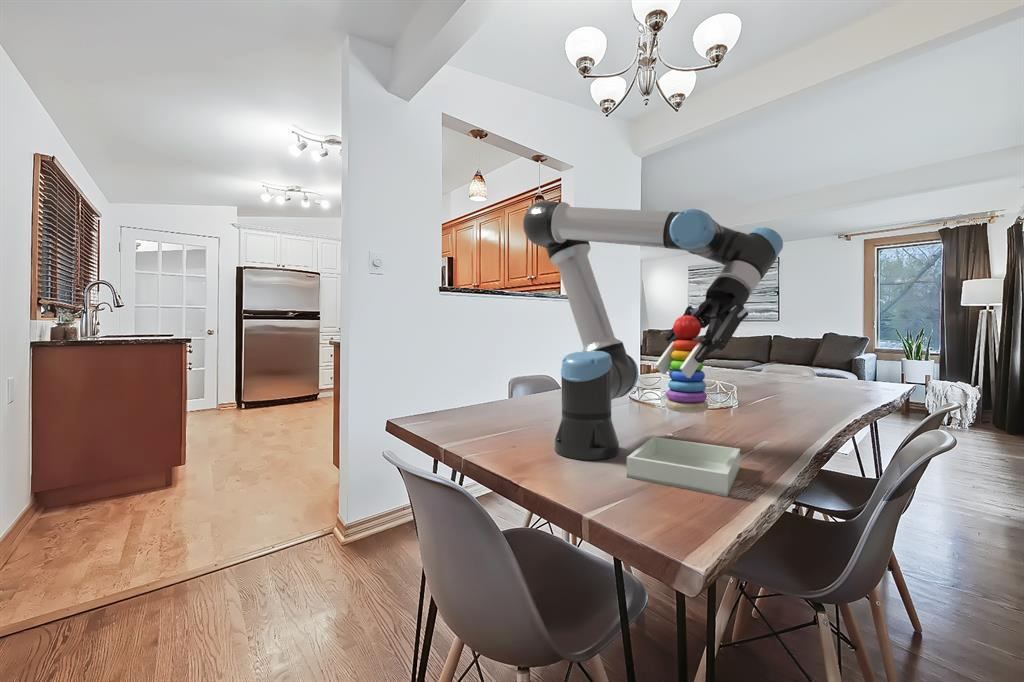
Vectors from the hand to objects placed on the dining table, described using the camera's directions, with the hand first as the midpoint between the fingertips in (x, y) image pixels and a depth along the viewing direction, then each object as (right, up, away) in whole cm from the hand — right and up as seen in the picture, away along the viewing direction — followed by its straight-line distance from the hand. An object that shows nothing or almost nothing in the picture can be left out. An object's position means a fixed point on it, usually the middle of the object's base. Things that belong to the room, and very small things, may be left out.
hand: (672, 371), depth 84 cm
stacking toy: (+4, -8, +2) cm, 9 cm away
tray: (+4, -21, +4) cm, 22 cm away
